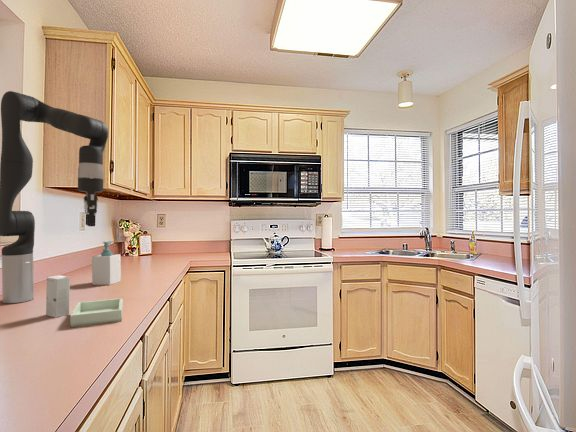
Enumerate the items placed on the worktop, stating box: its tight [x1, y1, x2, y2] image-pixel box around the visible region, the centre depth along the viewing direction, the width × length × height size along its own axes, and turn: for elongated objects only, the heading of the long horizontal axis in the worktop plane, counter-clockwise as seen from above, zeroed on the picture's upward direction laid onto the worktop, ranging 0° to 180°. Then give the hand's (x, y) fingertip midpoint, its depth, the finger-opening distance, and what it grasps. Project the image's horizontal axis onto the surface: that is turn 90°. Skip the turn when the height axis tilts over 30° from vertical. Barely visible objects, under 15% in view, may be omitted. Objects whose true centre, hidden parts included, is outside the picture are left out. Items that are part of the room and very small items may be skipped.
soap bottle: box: [91, 240, 122, 286], centre depth 161 cm, size 9×9×19 cm
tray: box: [69, 297, 124, 328], centre depth 109 cm, size 16×13×3 cm
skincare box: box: [45, 274, 71, 318], centre depth 111 cm, size 6×4×12 cm
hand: (90, 225), depth 118 cm, fingers open, 8 cm apart
